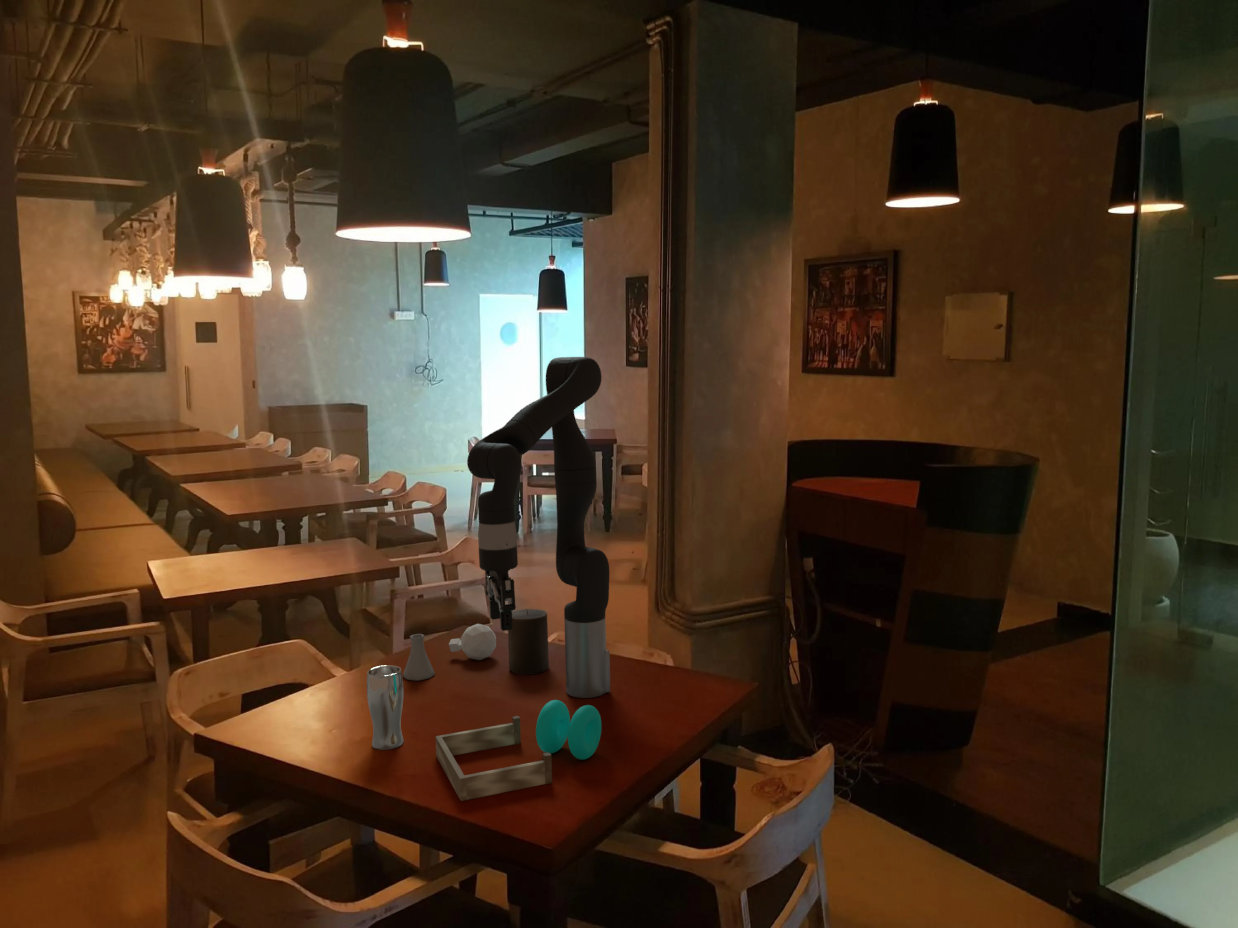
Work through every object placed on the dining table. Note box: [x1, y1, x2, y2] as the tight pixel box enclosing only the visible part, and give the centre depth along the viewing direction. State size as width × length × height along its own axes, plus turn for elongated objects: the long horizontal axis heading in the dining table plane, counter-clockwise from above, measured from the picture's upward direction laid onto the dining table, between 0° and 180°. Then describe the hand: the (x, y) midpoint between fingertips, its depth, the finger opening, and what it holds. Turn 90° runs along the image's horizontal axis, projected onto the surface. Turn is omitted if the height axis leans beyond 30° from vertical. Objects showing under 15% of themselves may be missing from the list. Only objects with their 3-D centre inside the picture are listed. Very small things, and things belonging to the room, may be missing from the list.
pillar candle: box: [507, 608, 550, 675], centre depth 229 cm, size 10×10×15 cm
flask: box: [402, 633, 436, 682], centre depth 225 cm, size 7×7×10 cm
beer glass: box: [366, 664, 404, 751], centre depth 186 cm, size 7×7×15 cm
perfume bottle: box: [448, 623, 497, 661], centre depth 238 cm, size 9×9×12 cm
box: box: [435, 715, 553, 802], centre depth 174 cm, size 16×20×5 cm
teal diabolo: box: [535, 699, 602, 761], centre depth 180 cm, size 10×10×10 cm
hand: (501, 624), depth 187 cm, fingers open, 8 cm apart
